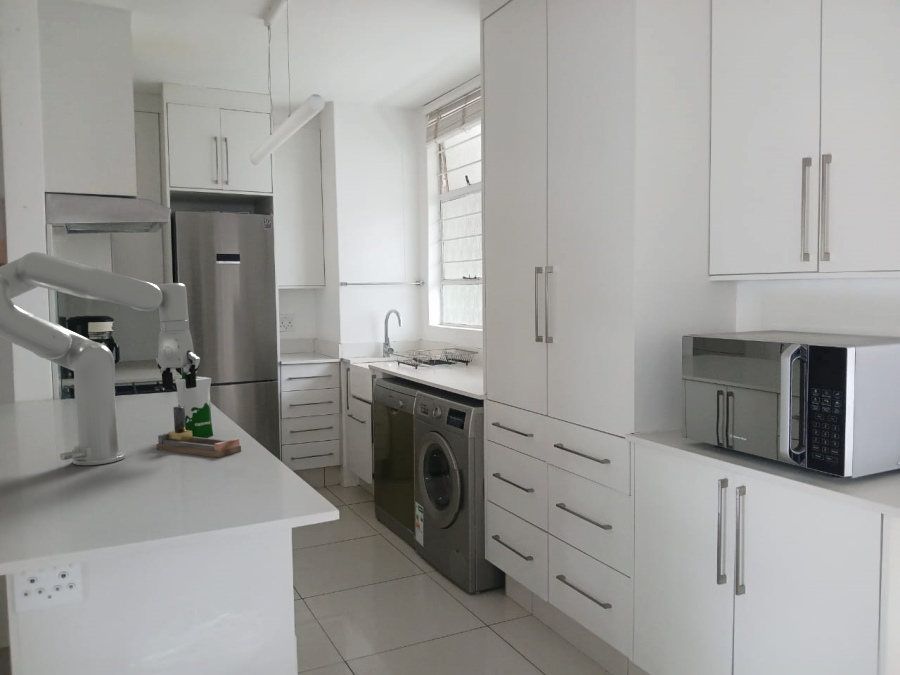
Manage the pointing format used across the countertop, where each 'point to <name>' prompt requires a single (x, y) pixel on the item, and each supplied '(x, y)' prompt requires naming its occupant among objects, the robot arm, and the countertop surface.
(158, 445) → the rail base
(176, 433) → the slider
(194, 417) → the milk carton
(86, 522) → the countertop surface
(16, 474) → the countertop surface
